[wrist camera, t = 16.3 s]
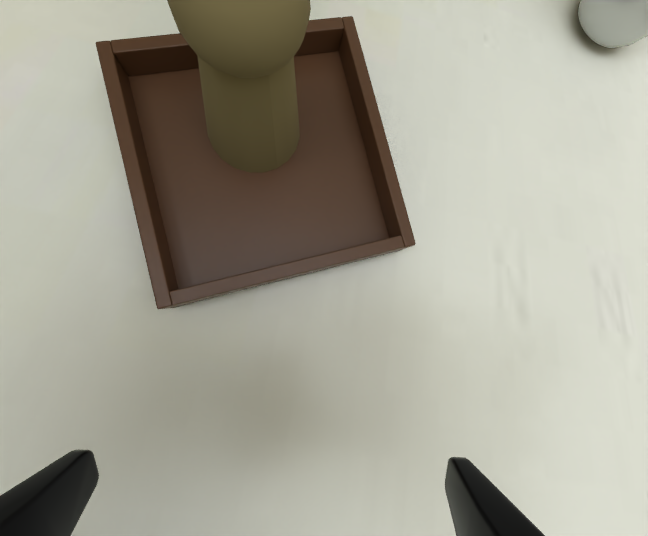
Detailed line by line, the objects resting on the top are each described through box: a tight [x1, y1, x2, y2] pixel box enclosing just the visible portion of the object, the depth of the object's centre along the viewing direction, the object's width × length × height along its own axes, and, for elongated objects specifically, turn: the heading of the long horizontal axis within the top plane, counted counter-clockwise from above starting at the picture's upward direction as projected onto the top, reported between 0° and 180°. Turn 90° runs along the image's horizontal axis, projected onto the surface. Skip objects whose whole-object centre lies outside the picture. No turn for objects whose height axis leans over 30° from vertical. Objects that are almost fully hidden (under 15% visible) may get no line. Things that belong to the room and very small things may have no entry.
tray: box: [96, 16, 415, 309], centre depth 20 cm, size 16×16×3 cm
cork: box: [167, 0, 310, 172], centre depth 16 cm, size 6×6×11 cm
